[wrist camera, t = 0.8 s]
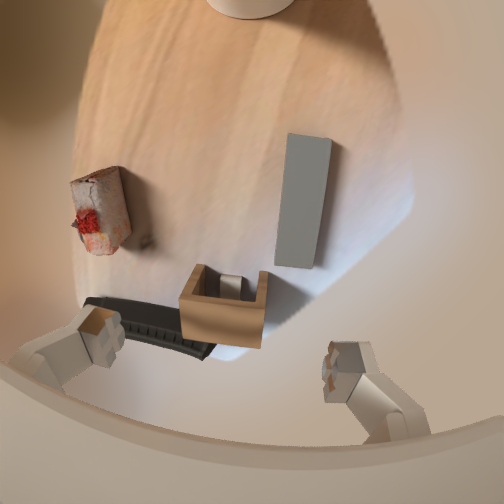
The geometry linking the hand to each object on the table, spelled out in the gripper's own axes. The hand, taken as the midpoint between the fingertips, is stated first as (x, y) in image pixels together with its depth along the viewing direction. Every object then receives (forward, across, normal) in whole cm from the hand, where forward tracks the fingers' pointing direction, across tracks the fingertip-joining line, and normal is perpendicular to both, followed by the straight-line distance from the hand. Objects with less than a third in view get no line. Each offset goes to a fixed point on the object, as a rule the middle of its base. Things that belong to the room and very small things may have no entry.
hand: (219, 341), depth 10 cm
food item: (+35, +26, +7) cm, 44 cm away
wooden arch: (+35, +4, +21) cm, 41 cm away
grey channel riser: (+34, -6, +4) cm, 35 cm away
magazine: (+35, +20, +29) cm, 50 cm away
